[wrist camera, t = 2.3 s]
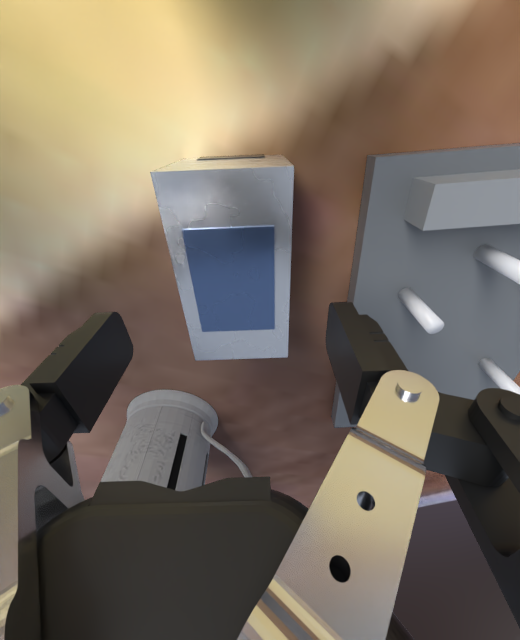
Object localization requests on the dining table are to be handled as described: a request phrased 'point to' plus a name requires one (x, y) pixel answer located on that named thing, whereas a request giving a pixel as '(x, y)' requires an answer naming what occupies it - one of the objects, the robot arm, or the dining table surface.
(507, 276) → the grey tapered peg board
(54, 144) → the dining table surface
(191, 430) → the white and black mug
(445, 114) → the dining table surface
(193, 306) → the block
